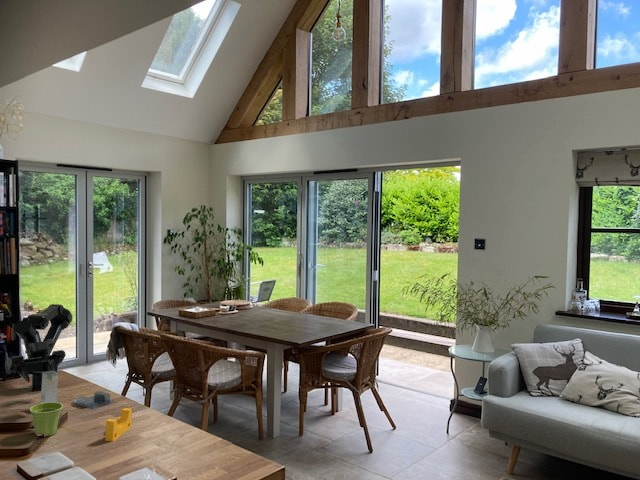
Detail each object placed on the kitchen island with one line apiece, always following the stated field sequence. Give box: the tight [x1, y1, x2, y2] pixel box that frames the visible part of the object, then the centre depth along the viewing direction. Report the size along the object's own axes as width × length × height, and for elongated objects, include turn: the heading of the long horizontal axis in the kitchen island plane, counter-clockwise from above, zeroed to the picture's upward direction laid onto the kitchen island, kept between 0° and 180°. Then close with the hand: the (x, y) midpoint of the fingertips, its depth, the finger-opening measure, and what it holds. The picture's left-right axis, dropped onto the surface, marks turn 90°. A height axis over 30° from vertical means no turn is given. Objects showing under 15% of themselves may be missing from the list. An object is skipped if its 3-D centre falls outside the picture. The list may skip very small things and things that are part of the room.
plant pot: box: [29, 401, 64, 438], centre depth 163 cm, size 9×9×9 cm
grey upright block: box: [40, 371, 59, 404], centre depth 181 cm, size 7×4×13 cm, turn 47°
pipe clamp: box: [104, 407, 133, 442], centre depth 166 cm, size 12×4×6 cm, turn 174°
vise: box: [71, 390, 116, 411], centre depth 190 cm, size 12×10×4 cm
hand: (42, 379), depth 188 cm, fingers open, 9 cm apart
